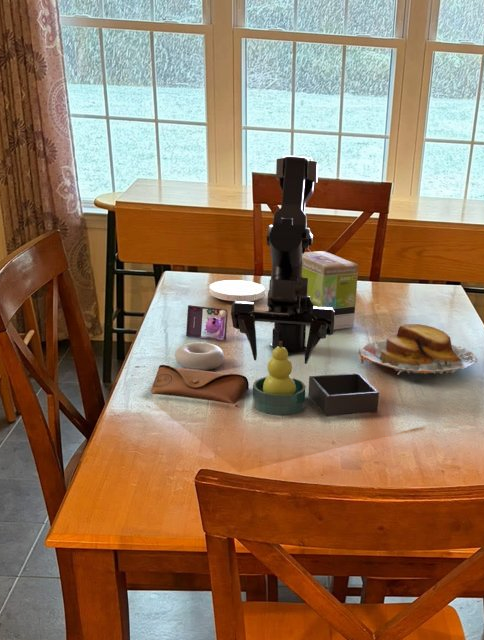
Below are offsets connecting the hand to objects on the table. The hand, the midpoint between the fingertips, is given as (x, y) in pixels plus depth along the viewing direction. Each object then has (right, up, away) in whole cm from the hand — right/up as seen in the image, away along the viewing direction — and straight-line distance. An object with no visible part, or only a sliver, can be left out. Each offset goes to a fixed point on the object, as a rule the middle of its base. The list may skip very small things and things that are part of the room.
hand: (280, 361), depth 149 cm
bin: (+11, -7, +7) cm, 15 cm away
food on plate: (+27, +6, +30) cm, 41 cm away
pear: (-1, -7, +4) cm, 8 cm away
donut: (-18, +4, +21) cm, 28 cm away
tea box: (+6, +22, +51) cm, 56 cm away
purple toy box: (-19, +14, +36) cm, 43 cm away
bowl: (-1, -8, +4) cm, 9 cm away
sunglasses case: (-16, -5, +7) cm, 18 cm away
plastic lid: (-16, +32, +62) cm, 72 cm away
